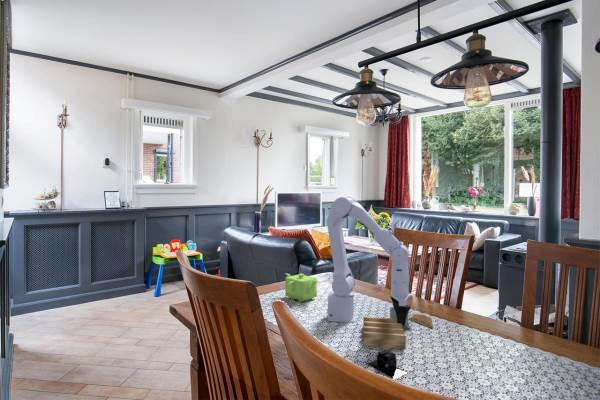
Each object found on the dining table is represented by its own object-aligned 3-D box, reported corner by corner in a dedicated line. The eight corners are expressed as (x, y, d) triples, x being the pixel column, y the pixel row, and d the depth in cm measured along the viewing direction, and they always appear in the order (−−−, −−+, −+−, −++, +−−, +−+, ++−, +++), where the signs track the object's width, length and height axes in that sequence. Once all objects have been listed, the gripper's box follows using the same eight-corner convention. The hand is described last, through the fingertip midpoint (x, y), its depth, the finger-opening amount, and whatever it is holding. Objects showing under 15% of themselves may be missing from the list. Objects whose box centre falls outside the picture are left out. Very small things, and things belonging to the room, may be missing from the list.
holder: (388, 329, 120) (389, 326, 120) (387, 323, 125) (387, 320, 125) (410, 330, 119) (410, 327, 119) (408, 324, 124) (408, 321, 124)
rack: (363, 346, 107) (364, 333, 107) (363, 328, 121) (363, 316, 121) (405, 349, 105) (405, 335, 105) (399, 330, 119) (400, 318, 119)
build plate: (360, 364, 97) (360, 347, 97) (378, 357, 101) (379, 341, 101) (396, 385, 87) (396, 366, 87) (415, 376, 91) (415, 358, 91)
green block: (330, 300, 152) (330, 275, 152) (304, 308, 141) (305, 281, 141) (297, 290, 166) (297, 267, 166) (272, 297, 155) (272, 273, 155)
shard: (432, 331, 120) (433, 326, 120) (409, 328, 122) (409, 323, 122) (431, 320, 130) (431, 315, 130) (409, 317, 133) (409, 313, 133)
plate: (390, 326, 122) (390, 308, 122) (389, 324, 124) (389, 307, 124) (408, 327, 121) (408, 309, 121) (407, 325, 123) (407, 308, 123)
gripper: (415, 287, 114) (415, 329, 114) (409, 276, 128) (409, 314, 128) (392, 286, 115) (392, 328, 115) (388, 275, 129) (388, 313, 130)
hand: (399, 320), depth 122 cm, fingers open, 7 cm apart
